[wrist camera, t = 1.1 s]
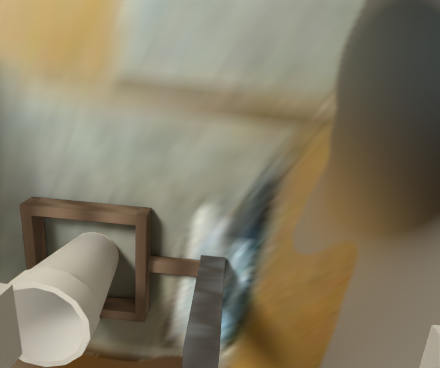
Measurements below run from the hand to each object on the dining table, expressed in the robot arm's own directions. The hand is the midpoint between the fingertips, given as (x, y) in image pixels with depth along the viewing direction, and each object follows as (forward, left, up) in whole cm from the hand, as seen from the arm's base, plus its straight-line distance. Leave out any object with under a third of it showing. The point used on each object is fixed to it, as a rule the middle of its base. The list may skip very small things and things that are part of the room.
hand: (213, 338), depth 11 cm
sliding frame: (-11, -15, -29) cm, 35 cm away
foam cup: (-16, -15, -29) cm, 37 cm away
